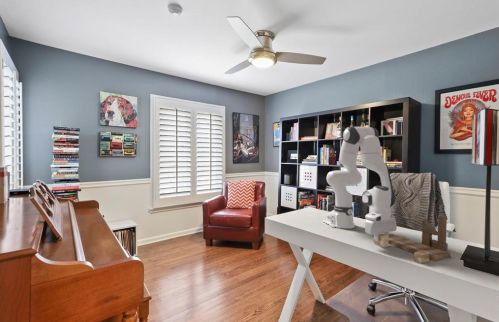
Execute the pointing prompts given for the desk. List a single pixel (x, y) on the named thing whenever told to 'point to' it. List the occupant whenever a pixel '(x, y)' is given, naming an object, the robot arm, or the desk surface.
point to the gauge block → (382, 240)
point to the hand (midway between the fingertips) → (380, 240)
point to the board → (417, 247)
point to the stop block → (421, 257)
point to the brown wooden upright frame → (435, 233)
